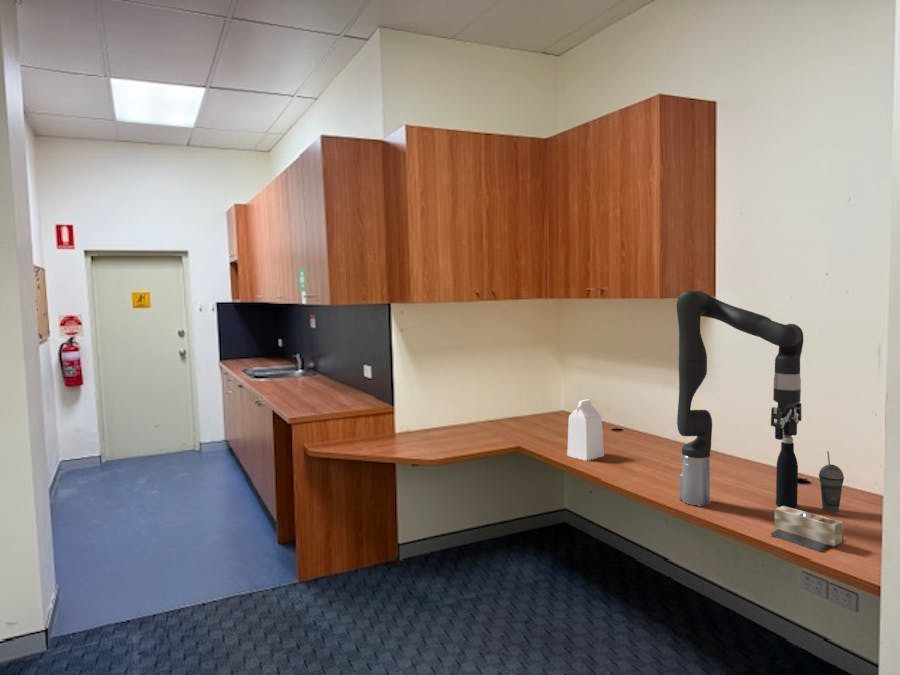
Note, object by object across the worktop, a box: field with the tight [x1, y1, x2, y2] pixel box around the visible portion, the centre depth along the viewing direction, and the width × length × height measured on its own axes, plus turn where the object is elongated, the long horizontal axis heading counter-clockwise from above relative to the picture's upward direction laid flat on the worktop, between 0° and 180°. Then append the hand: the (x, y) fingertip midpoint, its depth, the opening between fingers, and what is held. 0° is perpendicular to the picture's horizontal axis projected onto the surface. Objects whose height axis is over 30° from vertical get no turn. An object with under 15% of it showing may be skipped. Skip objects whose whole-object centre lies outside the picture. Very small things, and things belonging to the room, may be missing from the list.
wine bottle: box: [775, 420, 799, 509], centre depth 205 cm, size 6×6×30 cm
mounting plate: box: [770, 511, 844, 553], centre depth 180 cm, size 14×14×8 cm
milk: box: [566, 398, 605, 462], centre depth 274 cm, size 12×12×26 cm
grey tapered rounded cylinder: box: [818, 450, 845, 513], centre depth 201 cm, size 7×7×20 cm
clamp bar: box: [774, 506, 843, 547], centre depth 180 cm, size 17×5×6 cm, turn 34°
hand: (786, 437), depth 190 cm, fingers open, 8 cm apart
